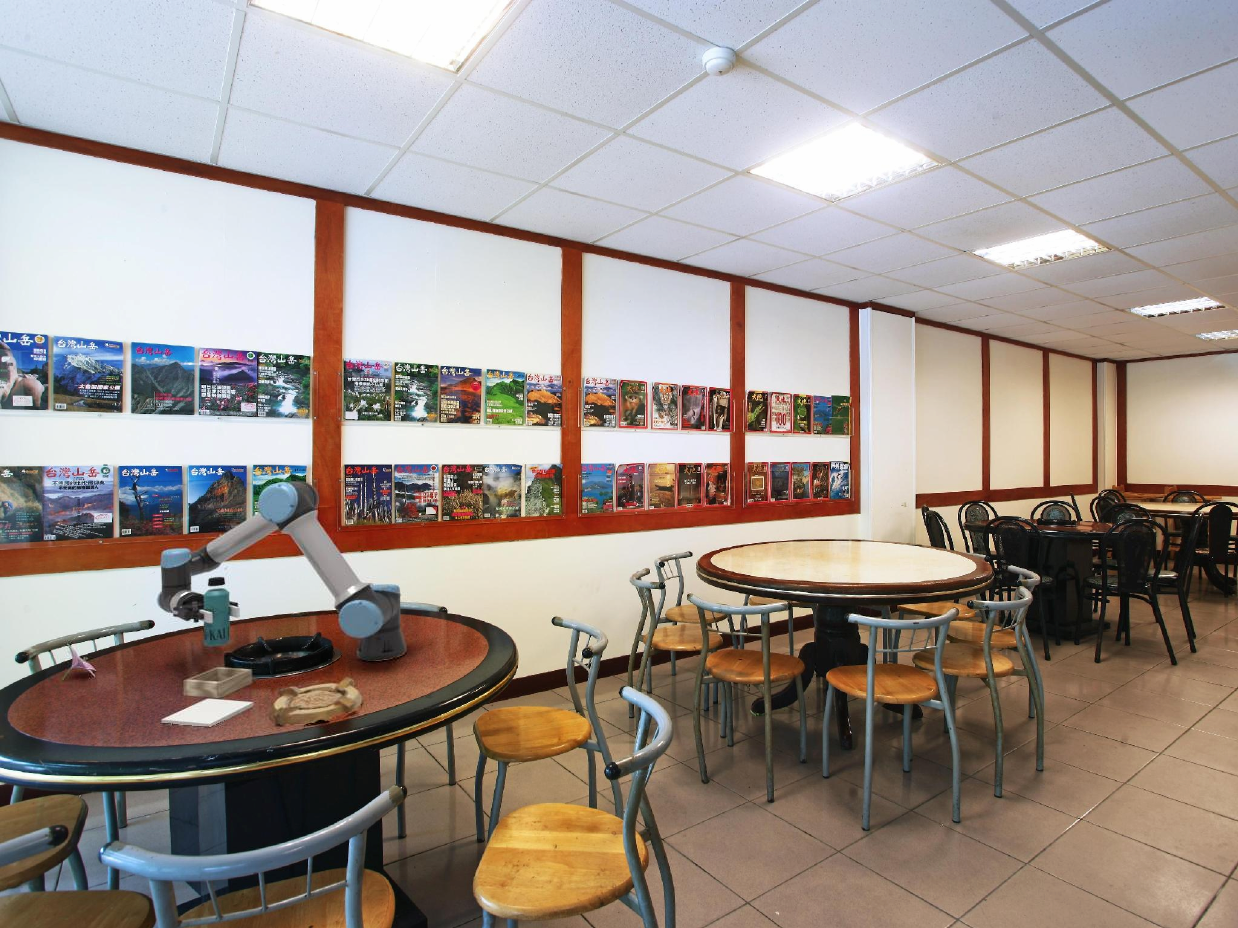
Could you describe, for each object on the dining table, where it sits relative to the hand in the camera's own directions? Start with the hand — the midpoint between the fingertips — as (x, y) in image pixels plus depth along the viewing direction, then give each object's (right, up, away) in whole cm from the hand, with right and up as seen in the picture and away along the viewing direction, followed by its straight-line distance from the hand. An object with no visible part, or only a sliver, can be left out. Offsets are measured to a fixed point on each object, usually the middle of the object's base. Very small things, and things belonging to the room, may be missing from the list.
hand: (224, 615), depth 181 cm
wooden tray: (-4, -22, +3) cm, 22 cm away
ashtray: (+30, -22, -11) cm, 39 cm away
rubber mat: (+5, -22, -15) cm, 27 cm away
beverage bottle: (-4, -10, +3) cm, 11 cm away
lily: (-51, -22, +14) cm, 58 cm away
